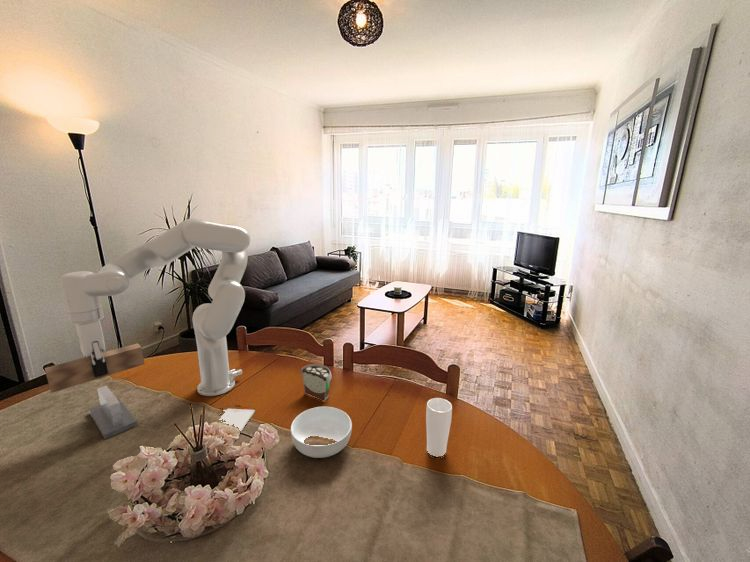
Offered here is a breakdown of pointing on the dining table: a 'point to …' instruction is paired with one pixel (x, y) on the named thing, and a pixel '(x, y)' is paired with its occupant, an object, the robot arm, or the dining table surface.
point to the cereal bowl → (321, 430)
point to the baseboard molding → (237, 417)
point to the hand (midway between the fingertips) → (99, 371)
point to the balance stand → (111, 414)
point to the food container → (316, 380)
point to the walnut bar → (83, 371)
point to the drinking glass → (438, 425)
